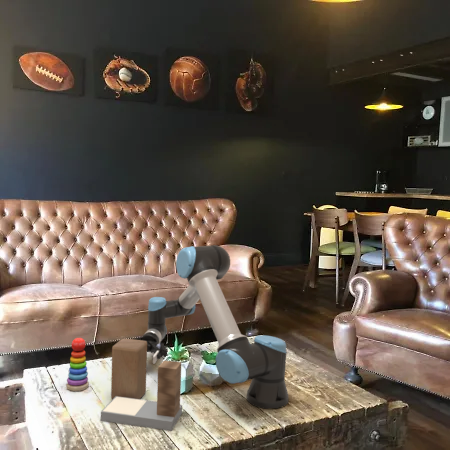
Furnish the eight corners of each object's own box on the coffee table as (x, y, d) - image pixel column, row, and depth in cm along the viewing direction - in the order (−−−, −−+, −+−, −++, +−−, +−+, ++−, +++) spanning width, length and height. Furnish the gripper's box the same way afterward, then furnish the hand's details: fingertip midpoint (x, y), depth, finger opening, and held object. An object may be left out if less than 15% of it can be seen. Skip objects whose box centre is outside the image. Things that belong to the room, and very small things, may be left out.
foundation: (181, 413, 170) (182, 404, 170) (171, 430, 158) (171, 421, 158) (115, 404, 175) (115, 395, 174) (100, 420, 163) (100, 411, 163)
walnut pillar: (179, 408, 167) (181, 362, 165) (174, 417, 161) (176, 369, 159) (162, 406, 168) (164, 360, 166) (156, 414, 162) (158, 367, 160)
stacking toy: (91, 389, 186) (92, 340, 184) (70, 393, 181) (70, 343, 180) (84, 381, 192) (85, 334, 191) (63, 385, 188) (64, 337, 186)
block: (136, 404, 175) (138, 349, 173) (109, 400, 177) (111, 346, 175) (146, 392, 185) (148, 340, 183) (121, 389, 187) (122, 337, 185)
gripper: (179, 351, 209) (168, 371, 188) (121, 346, 211) (103, 365, 190) (180, 334, 208) (168, 351, 187) (121, 329, 210) (104, 346, 189)
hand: (136, 358), depth 188 cm, fingers open, 13 cm apart
